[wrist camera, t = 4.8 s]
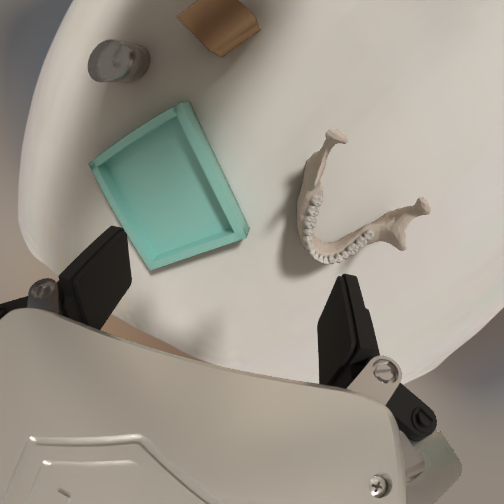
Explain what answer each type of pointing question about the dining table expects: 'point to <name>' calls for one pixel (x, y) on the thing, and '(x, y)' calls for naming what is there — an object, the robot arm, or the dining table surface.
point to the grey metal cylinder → (118, 62)
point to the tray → (170, 189)
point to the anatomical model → (380, 230)
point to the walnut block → (219, 24)
